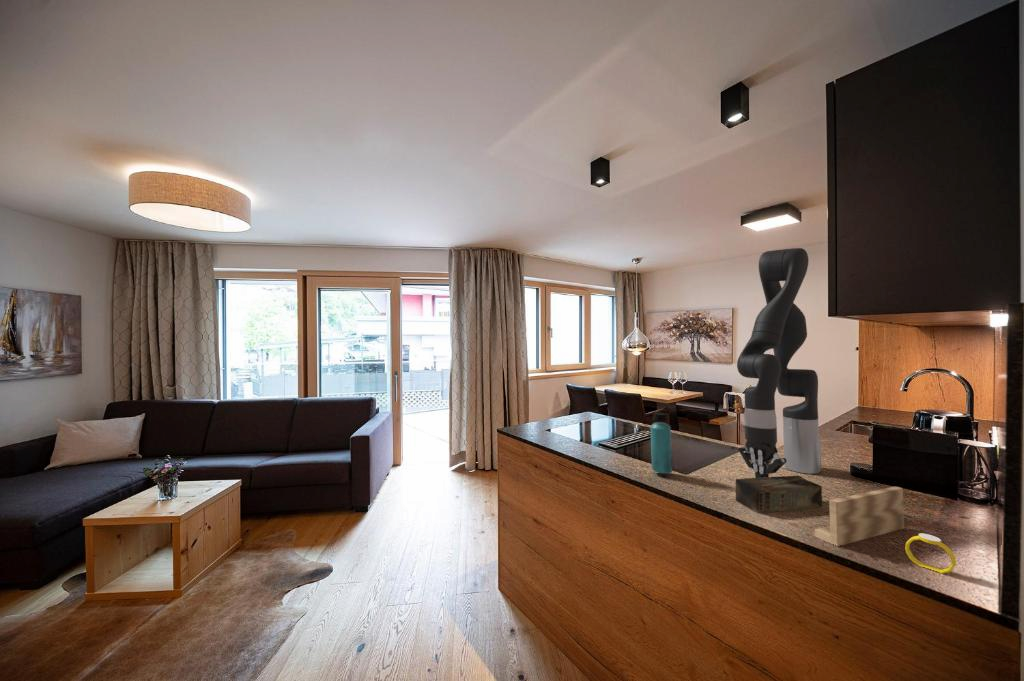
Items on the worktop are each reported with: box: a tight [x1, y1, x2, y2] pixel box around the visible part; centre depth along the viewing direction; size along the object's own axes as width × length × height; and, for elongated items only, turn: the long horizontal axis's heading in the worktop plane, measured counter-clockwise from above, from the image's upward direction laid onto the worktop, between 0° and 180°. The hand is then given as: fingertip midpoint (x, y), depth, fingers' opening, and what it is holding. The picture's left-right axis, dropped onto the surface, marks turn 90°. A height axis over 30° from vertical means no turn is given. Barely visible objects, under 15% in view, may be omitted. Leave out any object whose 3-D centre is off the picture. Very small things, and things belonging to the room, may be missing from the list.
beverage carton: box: [735, 475, 823, 514], centre depth 94 cm, size 8×19×7 cm, turn 98°
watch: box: [904, 532, 957, 575], centre depth 66 cm, size 6×3×6 cm, turn 34°
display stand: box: [814, 486, 905, 547], centre depth 79 cm, size 22×4×9 cm, turn 107°
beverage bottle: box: [649, 412, 674, 474], centre depth 117 cm, size 6×7×20 cm
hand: (762, 486), depth 101 cm, fingers closed
